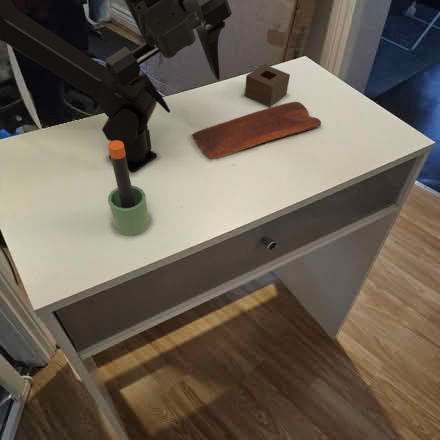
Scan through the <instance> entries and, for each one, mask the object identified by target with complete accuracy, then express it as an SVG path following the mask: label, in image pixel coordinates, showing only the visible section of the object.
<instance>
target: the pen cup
mask: <svg viewBox="0 0 440 440" xmlns="http://www.w3.org/2000/svg"><path fill="white" fill-rule="evenodd" d="M131 186H132V192H133V197H134V202H135V206H134V207H131V208H122V204H121V200H120V195H119V191H118V187H116V188H114V189H112V190H111V191H110V192H109V194H108V196H107V203H108V206H109V210H110V214H111V218H112V222H113V225H114V228H115V230H116V231H117V232H118V233H119V234H121V235H124V236H127V237H133V236H138V235H140V234H142V233H145V231H146V230H147V229H148V228H149V226H150V213H149V208H148V203H147V196H146V195H147V194H146V193H145V191H144V190H143V189H142V188H141V187H139V186H136V185H132V184H131Z"/></svg>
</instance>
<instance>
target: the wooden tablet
mask: <svg viewBox="0 0 440 440" xmlns="http://www.w3.org/2000/svg"><path fill="white" fill-rule="evenodd" d="M319 126H322V121H321V119H319V118H318V117H313V116H310V114H309V111H308V109H307V107H306V106H305V105H304V104H303V103H301V102H299V101H291V102H286V103H282V104H278V105H275V106H271V107H268V108H265V109H262V110H257V111H255V112H252V113H248V114H246V115H242V116H240V117H235V118H233V119H230V120H227V121H224V122H221V123H218V124H214V125H211V126H209V127H206V128H203V129H200V130H198V131H195V132H194V133H192V134H191V137H192V139H193V140H194V142H195V143H196V145H197V146H198V148H200V150H201V152H202V153H203V154H204V155H205V156H206V157H207V158H208V159H216V158H222V157H226V156H228V155H231V154H234V153H236V152H240V151H242V150H245V149H248V148H251V147H254V146H257V145H261V144H263V143H266V142H269V141H273V140H276V139H279V138H283V137H287V136H290V135H294V134H298V133H302V132H305V131H309V130H312V129H315V128H317V127H319Z"/></svg>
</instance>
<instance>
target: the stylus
mask: <svg viewBox="0 0 440 440" xmlns="http://www.w3.org/2000/svg"><path fill="white" fill-rule="evenodd" d="M107 149H108V154H109V156H111V160H110V161H111V164H112V169H113V173H114V178H115V182H116V188H118V191H119V195H120V200H121V204H122V208H131V207H134V206H135V202H134V197H133V192H132V186H133V185H132V182H131V177H130V171H128V166H127V160H126V155H125V154H126V153H125V148H124V144H123V142H121V141H118V140H115V141H109V142H108V143H107ZM131 185H132V186H131Z"/></svg>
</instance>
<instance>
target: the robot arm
mask: <svg viewBox="0 0 440 440" xmlns="http://www.w3.org/2000/svg"><path fill="white" fill-rule="evenodd" d="M123 1H124V4H125V5H126V7H127V9H128V11H129V13H130V15H131V18H132V19H133V22H134V23H135V25H136V27H137V29H138V30H139V32H140V35H141V37H142V38H143V41H144V43H142V44H141V45H139V46H138V47H137V48H135V49H134V50H130V49H129V48H128V47H126V46H124V47H122V48H121V49H120V50H118V51H116V52H114V53H113V54H111V55H110V56H109V57H107V58H106V59H105V64H104V65H105V66H104V65H102V64H101V63H100V62H98V61H96V60H95V59H93V58H92V57H90V56H88V55H87V54H85V53H84V52H82V51H81V50H79V49H78V48H76V47H75V46H73V45H72V44H71V43H69V42H67V41H66V40H64V39H63V38H61V37H60V36H58V35H57V34H55V33H53V32H52V31H51V30H49V29H47V28H46V27H45V26H43V25H41V24H40V23H38V22H36V21H35V20H34V19H32V18H30V17H29V16H28V15H26V14H25V13H23V12H22V11H20V10H19V9H18V8H17V7H16V6H15V5H14V4H13V2H12V0H0V42H2V43H5V44H6V45H8V46H10V47H11V48H13V49H14V50H16V51H18V52H19V53H21V54H23V55H24V56H26V57H27V58H29V59H31V60H32V61H34V62H35V63H37V64H39V65H40V66H42V67H43V68H45V69H46V70H48V71H50V72H52V73H53V74H55V75H57V76H58V77H59V78H61V79H63V80H64V81H67V82H68V83H69V84H71V85H72V86H74V87H76V88H77V89H79V90H81V91H82V92H83V93H86V94H87V95H89V96H90V97H92V98H93V99H94V100H95V101H96V103H97V104H98V106H99V107H100V108H101V110H102V111H103V113H104V114H105V116H106V117H107V120H106V121H105V123H104V125H103V126H102V128H101V132H102V133H103V135H104V136H105V138H106V140H107V141H109V142H111V141H115V140H118V141H121V142H123V144H124V148H125V153H126V154H125V155H126V160H127V166H128V171H129V173H132V174H133V173H136V172H137V171H139V170H140V169H141V168H143V167H145V166H146V165H148V164H149V163H150V162H152V161H154V160H155V159H157V157H158V154H157V153H156V152H154V151H153V150H152V141H151V133H150V129H149V127H148V124H149V121H150V120H151V118H152V115H153V113H154V111H155V109H156V107H157V103H158V105H160V107H162V108H163V109H164V110H165V111H166V112H167V114H168V113H170V112H171V110H170V108H169V106H168V103H167V102H166V101H165V99H164V98H163V96H162V95H161V93H160V92H159V91H158V89H157V88H156V86H155V85H154V84H153V82H152V81H151V79H150V77H149V76H148V74H147V73H146V72H145V71H144V70H143V69H142V68H141V65H142V64H143V63H145V62H146V61H149V59H151V58H153V57H154V56H156V55H157V54H158V53H161V55H162V57H164V58H165V59H172V58H174V57H175V56H176V55H177V53H179V52H180V51H181V50H183V49H184V48H186V47H191V45H193V44H194V43H195V42H196V40H197V38H196V34H195V31H196V33H197V36H198V39H199V41H200V44H201V47H202V50H203V52H204V55H205V58H206V60H207V63H208V66H209V68H210V71H211V74H212V76H213V77H214V79H215V80H217V81H219V80H220V79H221V76H220V62H219V38H220V34H221V31H222V30H223V29H225V27H226V22H225V20H227V19H228V18H230V17H231V16H232V14H233V13H232V9H231V7H230V3H229V0H123ZM194 30H195V31H194ZM108 158H109V160H110V161H112V160H111V156H110V155H109V156H108Z"/></svg>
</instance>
